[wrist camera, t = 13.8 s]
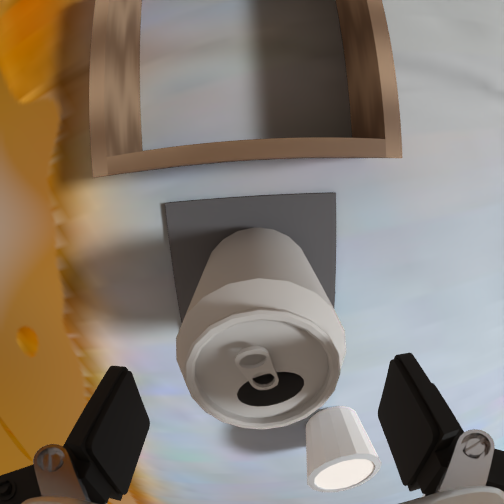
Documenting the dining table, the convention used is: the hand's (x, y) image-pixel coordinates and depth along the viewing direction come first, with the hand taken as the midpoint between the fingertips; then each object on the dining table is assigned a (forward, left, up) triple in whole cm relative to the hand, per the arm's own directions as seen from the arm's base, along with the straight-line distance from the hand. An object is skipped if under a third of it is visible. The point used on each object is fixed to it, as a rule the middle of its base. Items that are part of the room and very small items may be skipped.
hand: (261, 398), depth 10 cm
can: (0, 0, -13) cm, 13 cm away
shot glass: (+18, +7, -14) cm, 23 cm away
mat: (+1, 0, -14) cm, 14 cm away
